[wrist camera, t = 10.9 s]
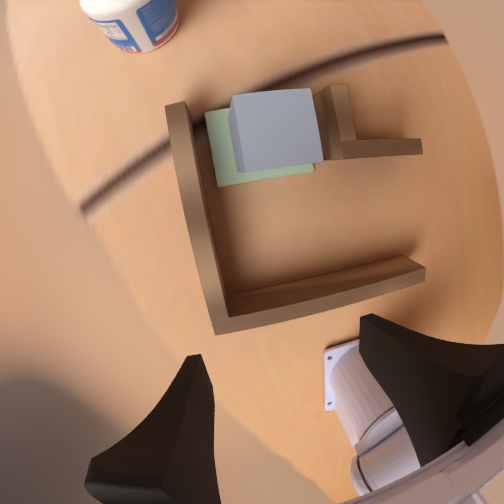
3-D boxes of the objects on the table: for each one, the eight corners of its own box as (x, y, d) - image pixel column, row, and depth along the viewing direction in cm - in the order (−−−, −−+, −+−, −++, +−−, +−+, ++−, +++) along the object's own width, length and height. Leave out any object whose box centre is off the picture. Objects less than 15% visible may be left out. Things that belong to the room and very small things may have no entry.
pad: (312, 171, 20) (313, 171, 19) (217, 187, 19) (218, 187, 19) (300, 100, 18) (301, 99, 18) (204, 113, 18) (204, 112, 17)
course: (402, 267, 23) (424, 280, 20) (214, 311, 22) (215, 335, 19) (387, 97, 18) (412, 90, 15) (173, 116, 17) (164, 105, 14)
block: (292, 163, 19) (323, 162, 13) (237, 172, 19) (246, 173, 13) (283, 110, 18) (310, 88, 12) (227, 117, 18) (232, 95, 12)
